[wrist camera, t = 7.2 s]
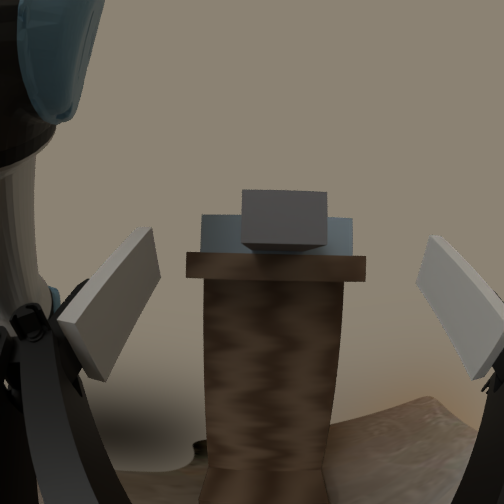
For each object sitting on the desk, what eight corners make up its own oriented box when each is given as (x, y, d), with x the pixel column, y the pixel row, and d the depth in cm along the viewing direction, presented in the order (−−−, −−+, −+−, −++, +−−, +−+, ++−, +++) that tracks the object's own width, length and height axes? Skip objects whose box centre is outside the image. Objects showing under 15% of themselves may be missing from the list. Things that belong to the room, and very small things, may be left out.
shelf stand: (199, 507, 21) (186, 252, 22) (212, 463, 30) (209, 254, 31) (326, 509, 20) (366, 256, 21) (316, 465, 29) (338, 257, 30)
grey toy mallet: (158, 246, 13) (162, 186, 13) (217, 254, 30) (218, 226, 30) (402, 252, 13) (401, 193, 13) (330, 257, 30) (330, 229, 30)
